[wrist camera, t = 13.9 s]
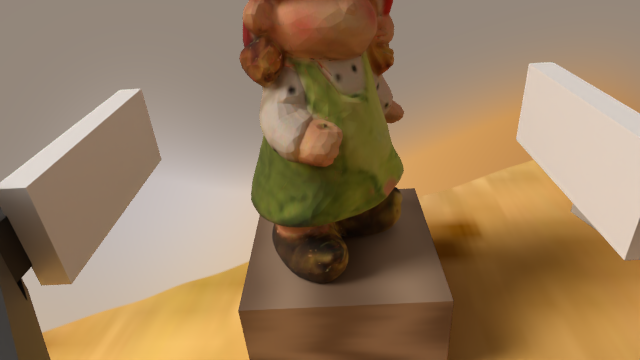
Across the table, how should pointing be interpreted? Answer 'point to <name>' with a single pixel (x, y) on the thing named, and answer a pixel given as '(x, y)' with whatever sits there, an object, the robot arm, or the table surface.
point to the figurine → (323, 126)
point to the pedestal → (352, 299)
